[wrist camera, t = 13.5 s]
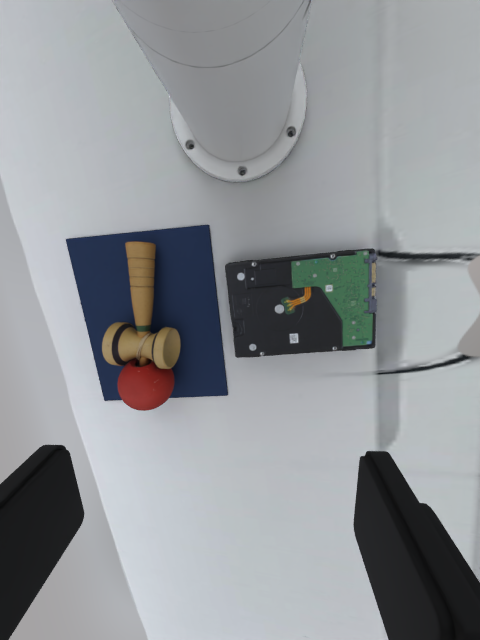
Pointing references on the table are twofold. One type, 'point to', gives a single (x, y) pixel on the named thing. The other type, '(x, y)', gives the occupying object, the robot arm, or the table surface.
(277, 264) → the disk drive
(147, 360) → the kendama
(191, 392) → the napkin
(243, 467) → the table surface
